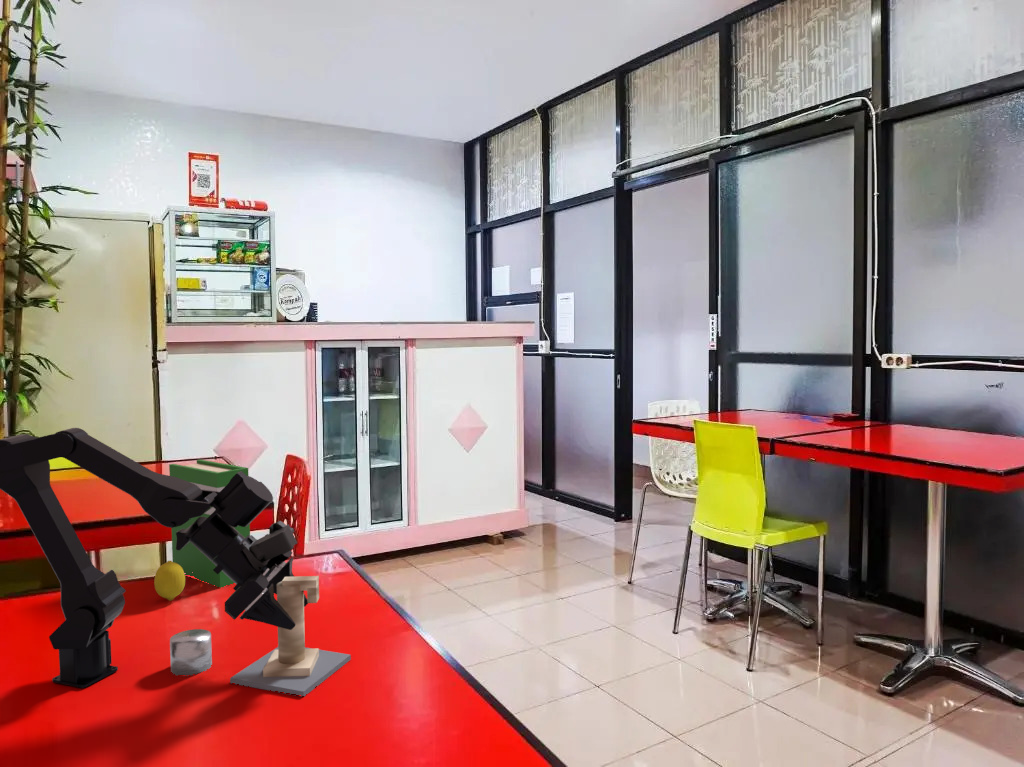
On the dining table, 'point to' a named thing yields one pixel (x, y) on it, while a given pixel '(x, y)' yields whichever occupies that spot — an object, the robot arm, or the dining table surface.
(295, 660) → the beige stacked pedestal
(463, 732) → the dining table surface
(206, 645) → the steel tin
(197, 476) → the hardback book
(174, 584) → the lemon
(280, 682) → the mat
